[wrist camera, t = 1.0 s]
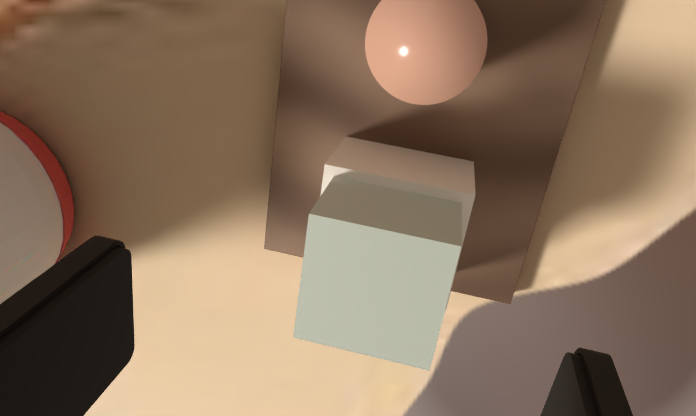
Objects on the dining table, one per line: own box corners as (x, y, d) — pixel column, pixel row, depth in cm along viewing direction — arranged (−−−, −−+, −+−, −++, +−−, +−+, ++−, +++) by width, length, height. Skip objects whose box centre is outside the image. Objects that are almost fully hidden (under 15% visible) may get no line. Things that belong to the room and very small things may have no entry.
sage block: (333, 176, 26) (308, 213, 22) (461, 202, 25) (461, 246, 21) (318, 285, 28) (293, 337, 24) (434, 312, 27) (429, 370, 23)
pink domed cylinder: (390, -29, 26) (375, -31, 22) (494, -13, 26) (501, -11, 21) (373, 75, 28) (356, 93, 24) (470, 92, 28) (471, 114, 23)
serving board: (300, -77, 27) (293, -79, 26) (608, -30, 26) (615, -31, 25) (270, 240, 35) (264, 248, 34) (508, 293, 33) (510, 304, 32)
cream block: (345, 136, 30) (324, 164, 25) (473, 161, 29) (475, 194, 25) (329, 248, 33) (307, 291, 28) (445, 274, 32) (442, 322, 27)
